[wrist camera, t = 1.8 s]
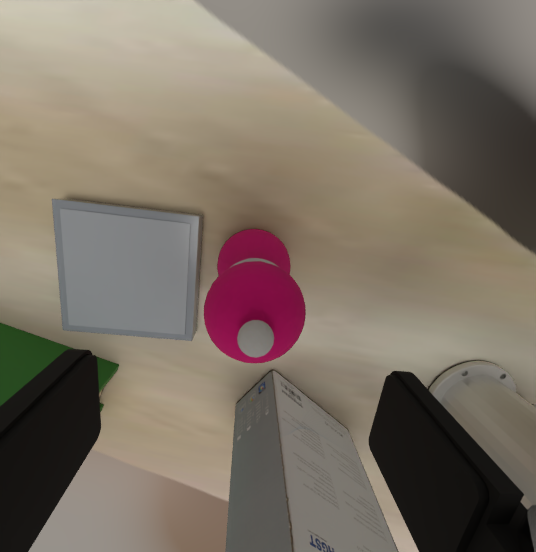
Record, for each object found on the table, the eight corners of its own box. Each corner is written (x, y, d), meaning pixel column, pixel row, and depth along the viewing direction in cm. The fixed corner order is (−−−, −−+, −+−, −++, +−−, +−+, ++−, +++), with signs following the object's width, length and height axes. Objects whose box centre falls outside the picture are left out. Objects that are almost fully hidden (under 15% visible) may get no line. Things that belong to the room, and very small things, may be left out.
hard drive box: (233, 404, 37) (213, 624, 18) (272, 367, 36) (295, 561, 17) (312, 461, 41) (366, 696, 21) (350, 429, 39) (443, 648, 20)
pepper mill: (296, 242, 32) (364, 313, 12) (267, 296, 33) (288, 432, 14) (238, 213, 30) (215, 241, 11) (212, 270, 32) (150, 381, 13)
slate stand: (203, 215, 30) (198, 216, 27) (196, 330, 34) (191, 341, 31) (68, 198, 29) (50, 198, 26) (76, 320, 33) (61, 330, 30)
